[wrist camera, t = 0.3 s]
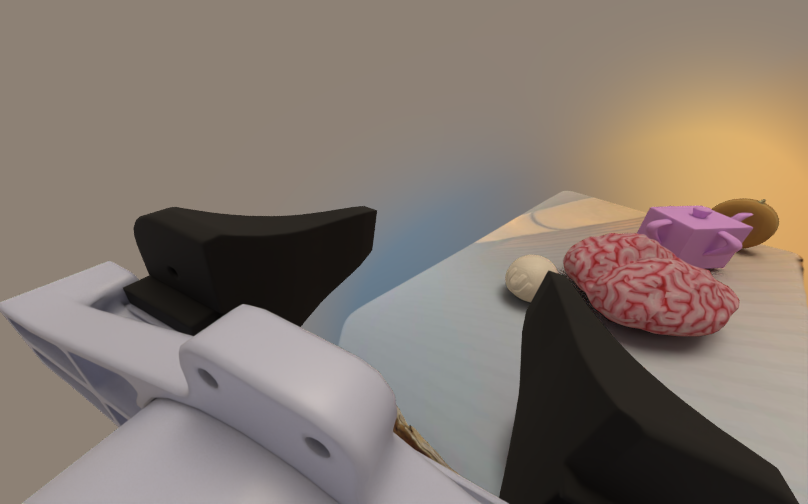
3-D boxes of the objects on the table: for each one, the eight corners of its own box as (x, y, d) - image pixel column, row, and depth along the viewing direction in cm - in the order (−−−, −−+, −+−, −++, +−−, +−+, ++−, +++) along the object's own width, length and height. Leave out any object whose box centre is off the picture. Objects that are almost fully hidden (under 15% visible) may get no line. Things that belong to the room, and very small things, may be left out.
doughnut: (758, 253, 55) (797, 204, 49) (753, 259, 53) (793, 209, 48) (696, 233, 61) (724, 188, 56) (689, 237, 60) (718, 191, 54)
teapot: (689, 239, 59) (718, 192, 53) (766, 282, 47) (814, 227, 42) (606, 242, 57) (628, 194, 52) (665, 287, 46) (701, 231, 40)
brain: (750, 345, 36) (811, 283, 31) (621, 362, 34) (663, 298, 28) (630, 261, 52) (657, 210, 46) (537, 269, 50) (553, 216, 44)
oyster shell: (448, 502, 26) (371, 418, 27) (476, 470, 26) (399, 389, 27) (461, 563, 20) (362, 453, 21) (496, 521, 21) (398, 415, 22)
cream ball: (491, 288, 45) (499, 252, 41) (527, 278, 47) (538, 243, 44) (522, 318, 40) (534, 279, 36) (561, 304, 42) (576, 267, 39)
